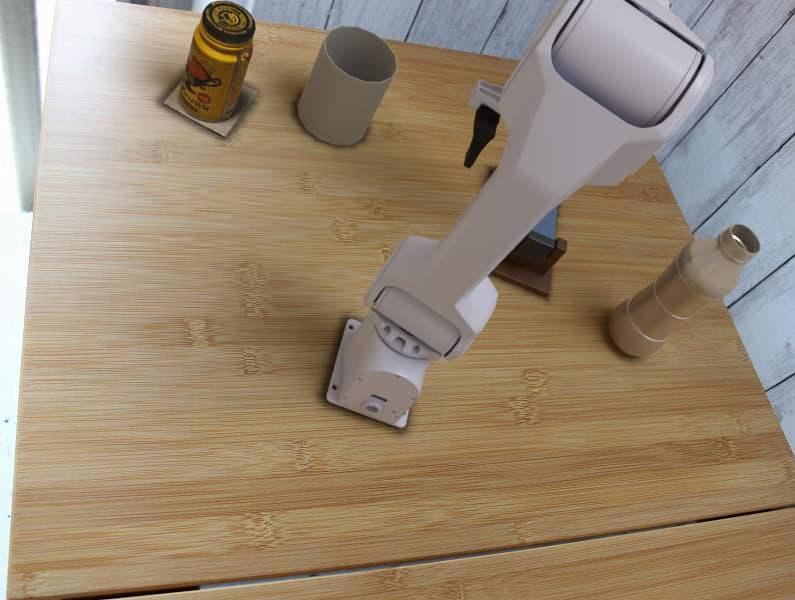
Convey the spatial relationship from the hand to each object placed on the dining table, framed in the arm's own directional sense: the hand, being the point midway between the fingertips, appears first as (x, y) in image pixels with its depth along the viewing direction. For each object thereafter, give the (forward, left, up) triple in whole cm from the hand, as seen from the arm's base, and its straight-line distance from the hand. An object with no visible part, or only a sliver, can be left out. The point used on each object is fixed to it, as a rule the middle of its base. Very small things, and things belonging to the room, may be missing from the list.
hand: (500, 175), depth 88 cm
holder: (+3, -7, -9) cm, 12 cm away
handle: (+3, -7, -6) cm, 10 cm away
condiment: (+3, +31, -10) cm, 33 cm away
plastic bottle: (-6, -22, -10) cm, 25 cm away
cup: (+8, +18, -10) cm, 22 cm away
